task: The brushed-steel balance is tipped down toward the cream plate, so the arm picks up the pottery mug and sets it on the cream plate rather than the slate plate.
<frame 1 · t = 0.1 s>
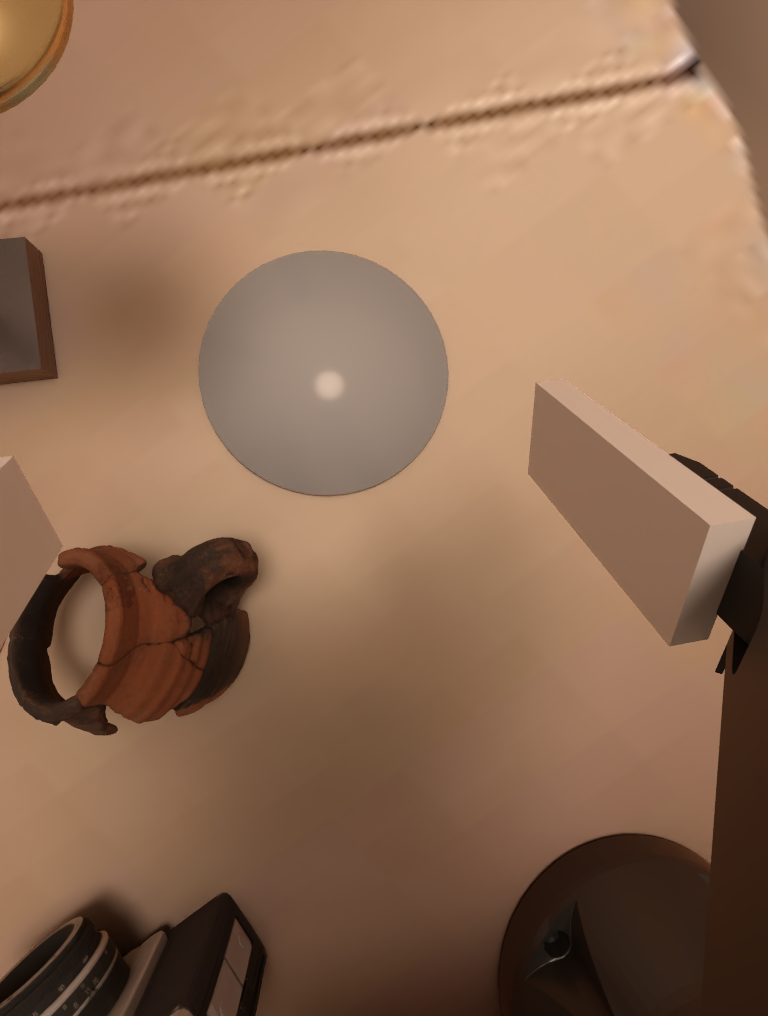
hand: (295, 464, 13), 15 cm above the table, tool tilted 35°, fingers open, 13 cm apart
camera: (125, 966, 27), on the table
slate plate: (326, 373, 29), on the table
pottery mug: (177, 612, 28), on the table
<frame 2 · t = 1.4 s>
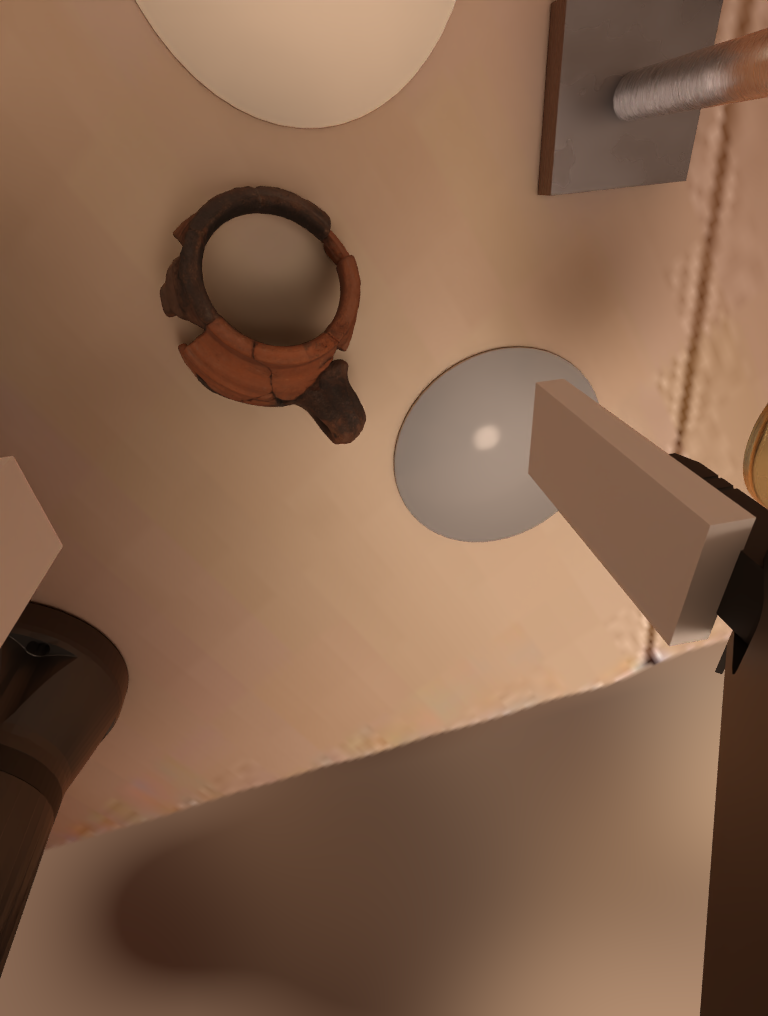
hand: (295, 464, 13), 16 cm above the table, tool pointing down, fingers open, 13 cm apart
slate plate: (498, 453, 33), on the table
balance: (614, 100, 24), on the table
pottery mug: (279, 322, 27), on the table
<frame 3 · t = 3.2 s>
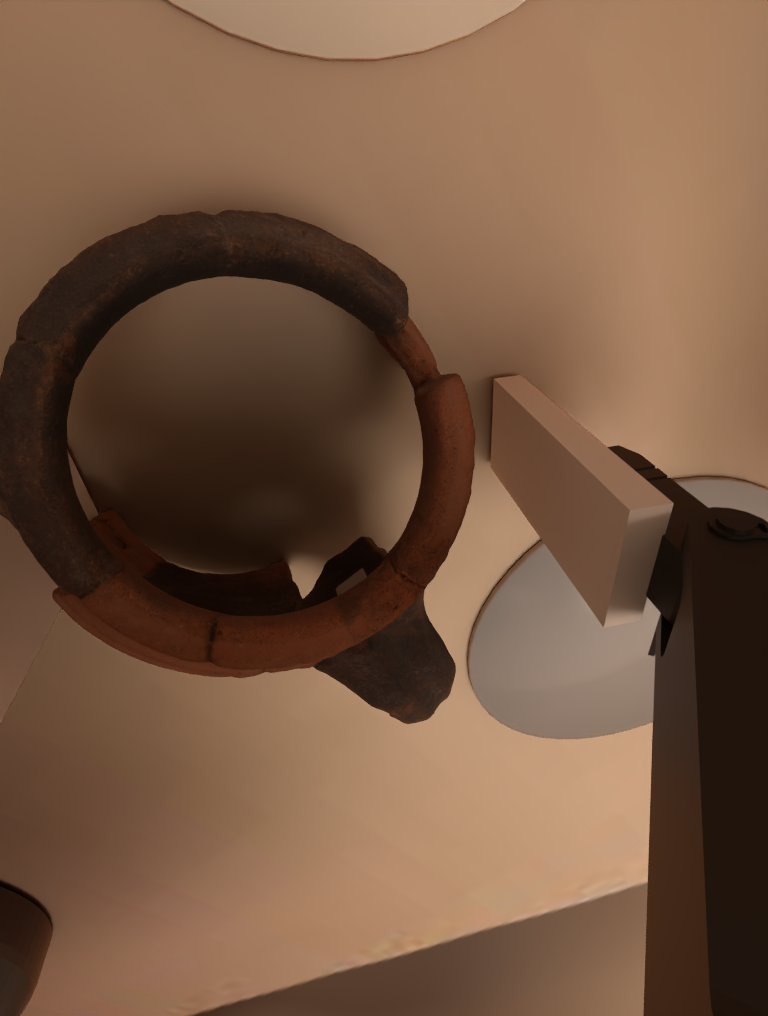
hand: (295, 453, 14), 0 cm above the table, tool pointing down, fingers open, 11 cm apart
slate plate: (634, 627, 21), on the table
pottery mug: (280, 457, 14), on the table, touching gripper
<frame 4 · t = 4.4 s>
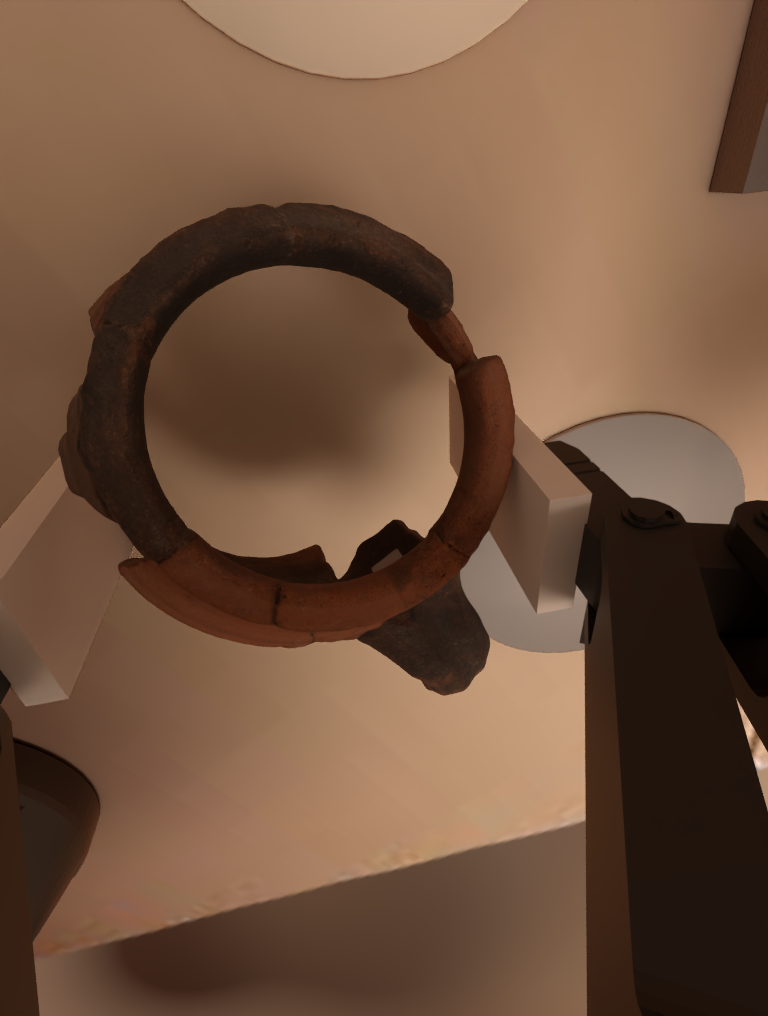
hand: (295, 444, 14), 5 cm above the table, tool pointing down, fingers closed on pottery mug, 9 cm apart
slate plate: (595, 548, 24), on the table
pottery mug: (315, 443, 15), point 4 cm above the table, touching gripper
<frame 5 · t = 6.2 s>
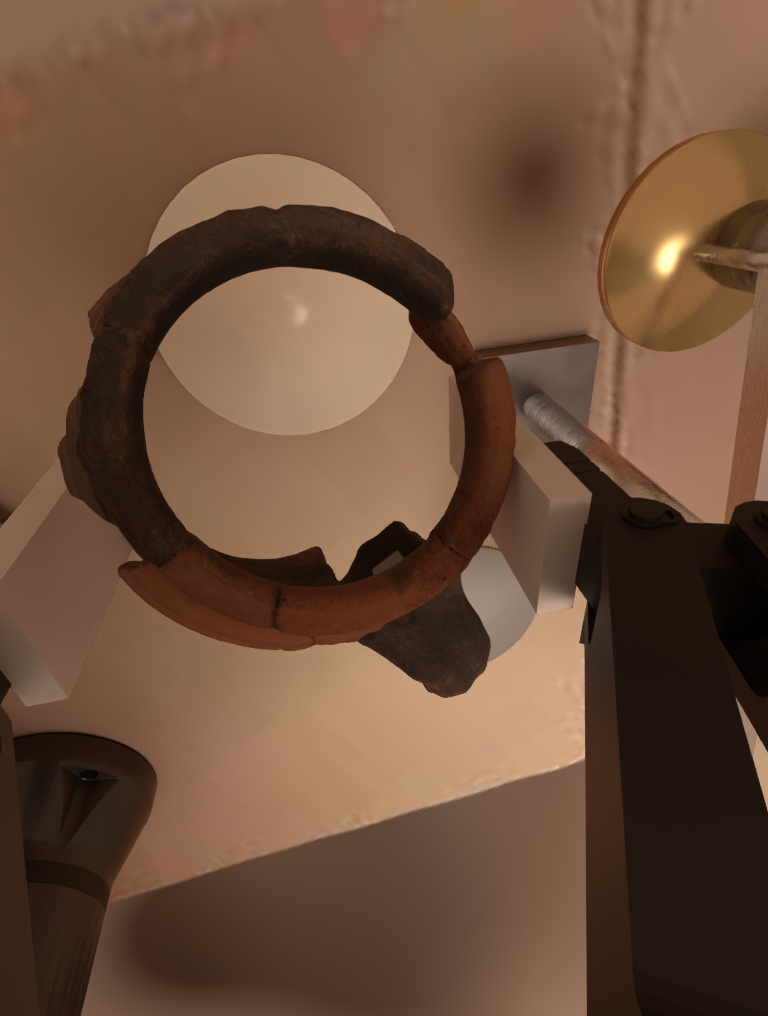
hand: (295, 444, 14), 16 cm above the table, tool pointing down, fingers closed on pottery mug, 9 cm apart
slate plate: (455, 614, 42), on the table
cream plate: (286, 313, 27), on the table
balance: (527, 398, 32), on the table
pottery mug: (316, 445, 15), point 15 cm above the table, touching gripper
when the fingers open (1 cm above the table, at t = 8.4 s): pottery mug stays where it is, resting on cream plate.
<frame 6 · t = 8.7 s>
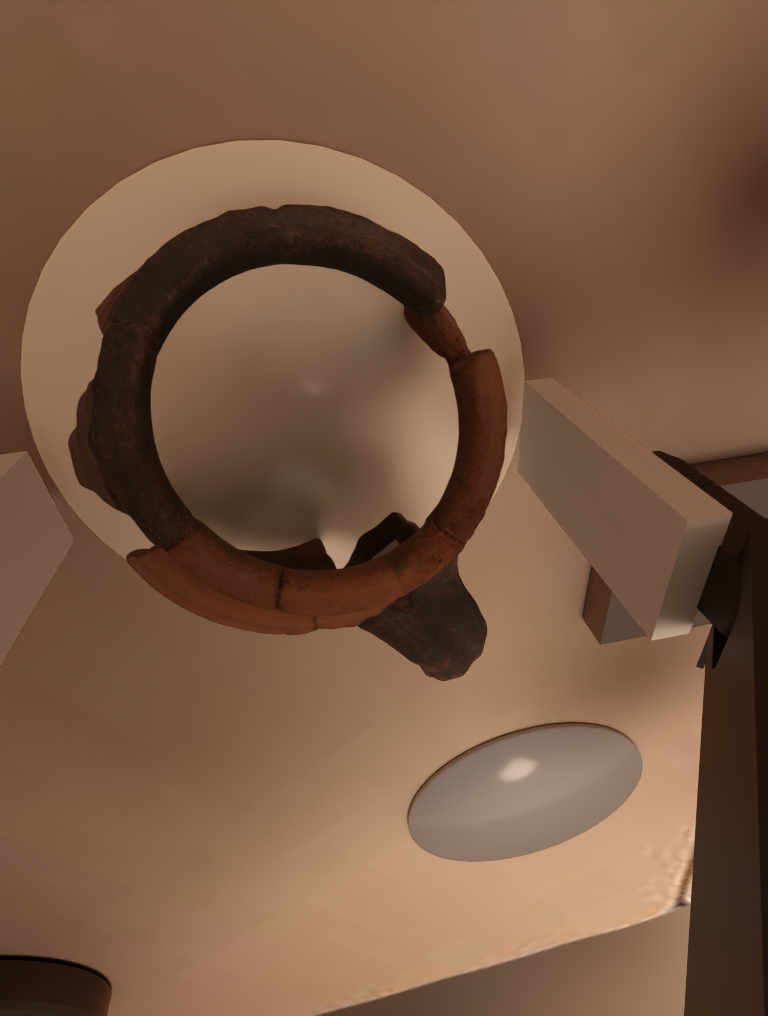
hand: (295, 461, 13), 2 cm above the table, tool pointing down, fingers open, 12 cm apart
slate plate: (524, 797, 30), on the table
cream plate: (294, 430, 15), on the table
balance: (677, 540, 20), on the table
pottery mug: (315, 438, 15), resting on cream plate
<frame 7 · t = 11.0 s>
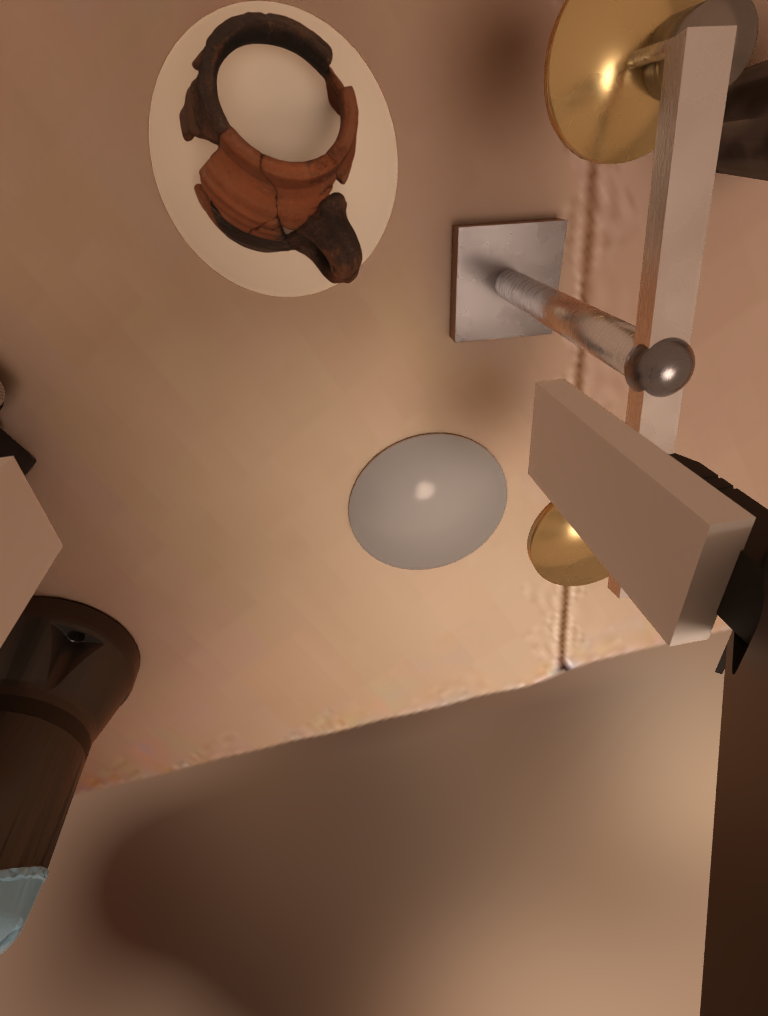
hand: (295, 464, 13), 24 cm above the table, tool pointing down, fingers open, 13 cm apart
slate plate: (428, 506, 44), on the table
cream plate: (278, 168, 30), on the table
beverage cup: (713, 125, 32), on the table
balance: (501, 280, 35), on the table
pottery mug: (286, 176, 30), resting on cream plate
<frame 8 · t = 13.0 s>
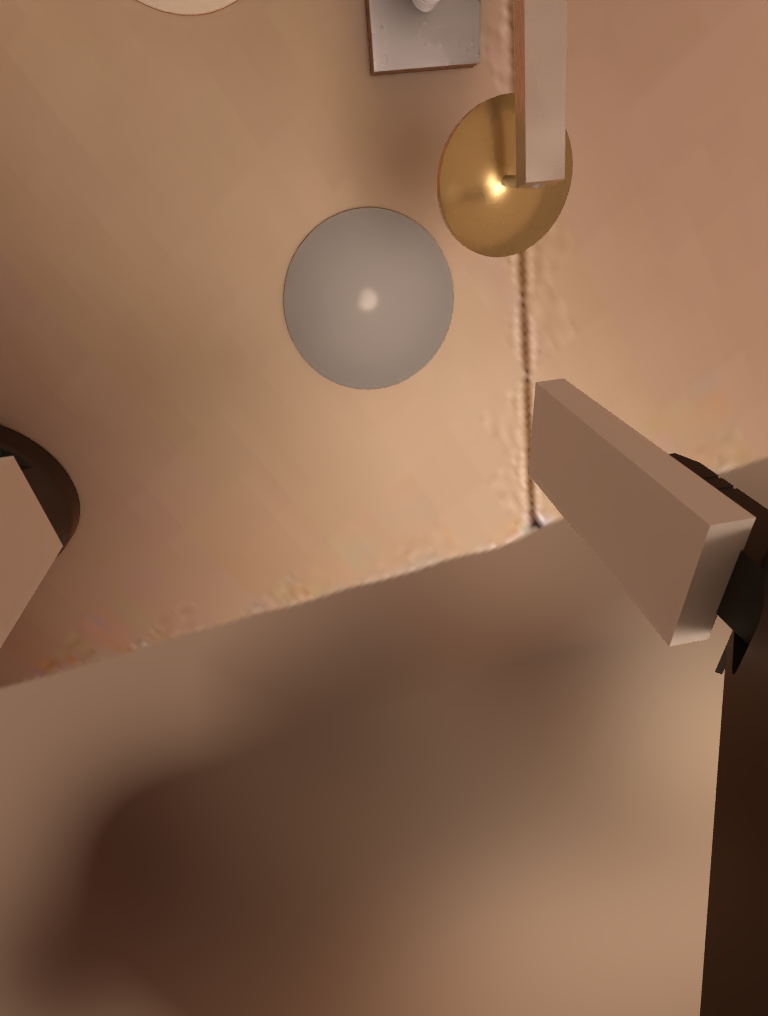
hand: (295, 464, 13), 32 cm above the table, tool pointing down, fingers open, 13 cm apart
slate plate: (370, 306, 42), on the table
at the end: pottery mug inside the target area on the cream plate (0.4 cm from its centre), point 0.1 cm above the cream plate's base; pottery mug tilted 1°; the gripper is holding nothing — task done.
